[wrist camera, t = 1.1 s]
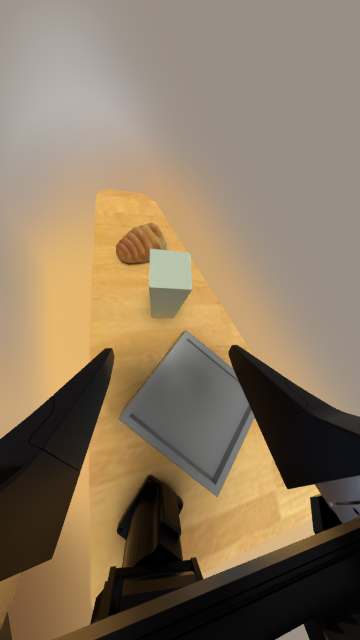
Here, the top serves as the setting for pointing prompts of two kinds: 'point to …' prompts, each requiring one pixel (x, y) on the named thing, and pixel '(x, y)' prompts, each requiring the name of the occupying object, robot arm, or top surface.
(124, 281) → the top surface
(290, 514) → the top surface
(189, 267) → the block
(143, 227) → the pastry
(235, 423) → the tray
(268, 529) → the top surface
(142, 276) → the top surface
